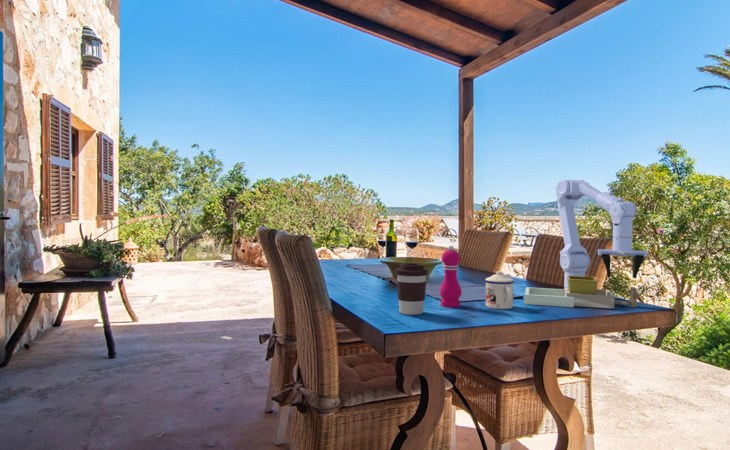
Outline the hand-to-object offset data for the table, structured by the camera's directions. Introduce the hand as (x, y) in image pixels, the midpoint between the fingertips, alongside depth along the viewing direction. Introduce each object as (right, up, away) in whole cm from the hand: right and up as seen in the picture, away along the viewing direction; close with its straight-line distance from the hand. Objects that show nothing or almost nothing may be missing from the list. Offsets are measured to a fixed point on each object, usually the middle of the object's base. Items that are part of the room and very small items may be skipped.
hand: (621, 277), depth 154 cm
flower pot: (-13, -9, 0) cm, 16 cm away
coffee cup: (-73, -10, -15) cm, 75 cm away
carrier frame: (-8, -9, -1) cm, 12 cm away
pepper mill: (-59, -9, -3) cm, 59 cm away
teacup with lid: (-43, -9, -6) cm, 44 cm away
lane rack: (-23, -9, +5) cm, 25 cm away
